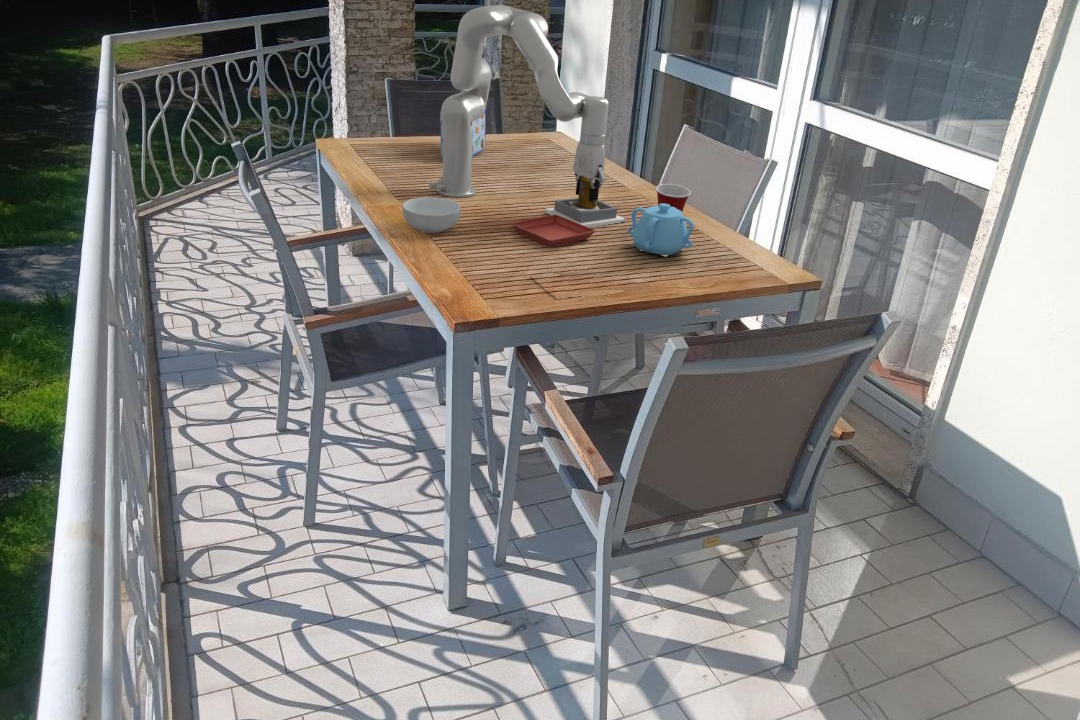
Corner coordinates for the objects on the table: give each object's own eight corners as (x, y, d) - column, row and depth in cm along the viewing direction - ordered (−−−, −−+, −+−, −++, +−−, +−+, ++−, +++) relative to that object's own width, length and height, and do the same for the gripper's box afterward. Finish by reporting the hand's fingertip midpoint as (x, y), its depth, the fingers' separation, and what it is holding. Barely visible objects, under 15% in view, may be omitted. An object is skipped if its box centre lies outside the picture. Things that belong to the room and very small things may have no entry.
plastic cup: (656, 231, 265) (661, 193, 259) (646, 220, 274) (651, 183, 269) (690, 232, 267) (696, 194, 261) (679, 221, 276) (684, 184, 271)
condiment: (599, 210, 268) (604, 172, 263) (573, 209, 267) (577, 171, 261) (595, 203, 275) (599, 165, 269) (569, 202, 273) (572, 164, 268)
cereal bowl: (396, 220, 256) (396, 197, 252) (451, 218, 261) (451, 195, 258) (410, 239, 242) (410, 215, 238) (467, 236, 247) (468, 213, 244)
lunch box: (461, 166, 317) (463, 104, 307) (435, 162, 320) (436, 101, 310) (488, 151, 341) (490, 93, 331) (463, 147, 343) (465, 90, 333)
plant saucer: (509, 233, 254) (510, 222, 253) (555, 224, 265) (556, 213, 264) (549, 251, 242) (550, 240, 241) (595, 241, 253) (596, 230, 252)
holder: (578, 229, 261) (580, 216, 259) (545, 212, 274) (546, 199, 272) (624, 222, 270) (626, 209, 268) (590, 206, 283) (591, 193, 281)
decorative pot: (693, 260, 243) (701, 214, 237) (638, 259, 241) (645, 212, 235) (676, 241, 258) (683, 197, 252) (624, 240, 255) (630, 195, 249)
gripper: (565, 133, 265) (560, 191, 273) (599, 146, 253) (593, 206, 261) (585, 132, 269) (579, 188, 277) (619, 145, 257) (613, 203, 265)
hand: (586, 196), depth 269 cm, fingers closed on condiment, 6 cm apart
